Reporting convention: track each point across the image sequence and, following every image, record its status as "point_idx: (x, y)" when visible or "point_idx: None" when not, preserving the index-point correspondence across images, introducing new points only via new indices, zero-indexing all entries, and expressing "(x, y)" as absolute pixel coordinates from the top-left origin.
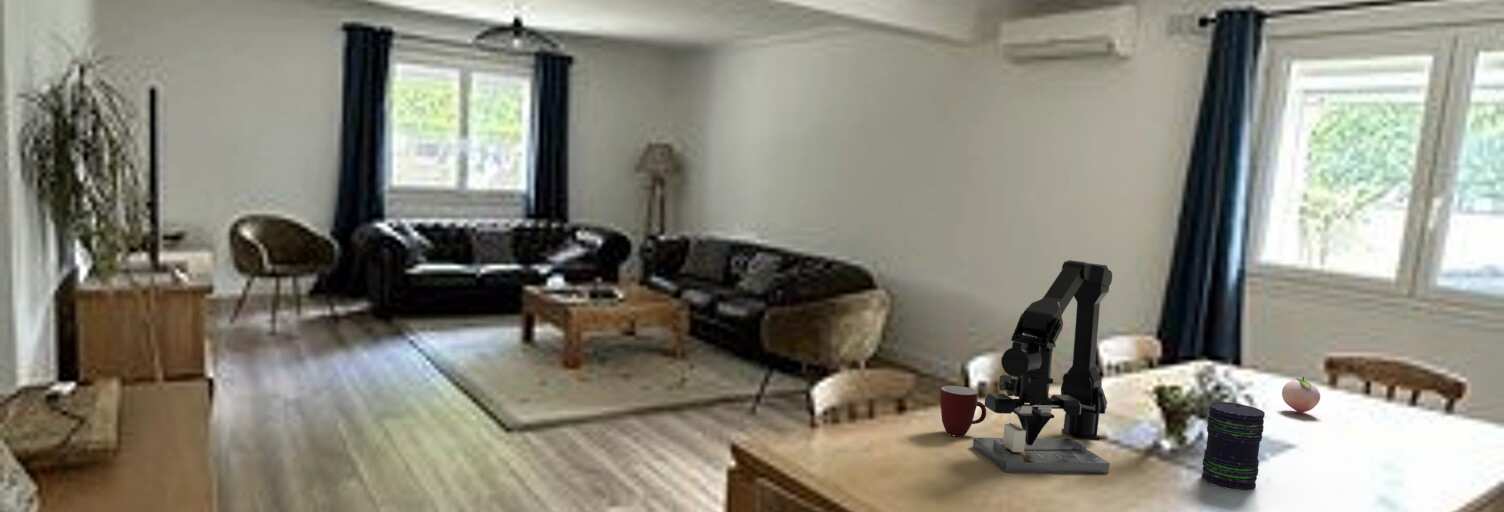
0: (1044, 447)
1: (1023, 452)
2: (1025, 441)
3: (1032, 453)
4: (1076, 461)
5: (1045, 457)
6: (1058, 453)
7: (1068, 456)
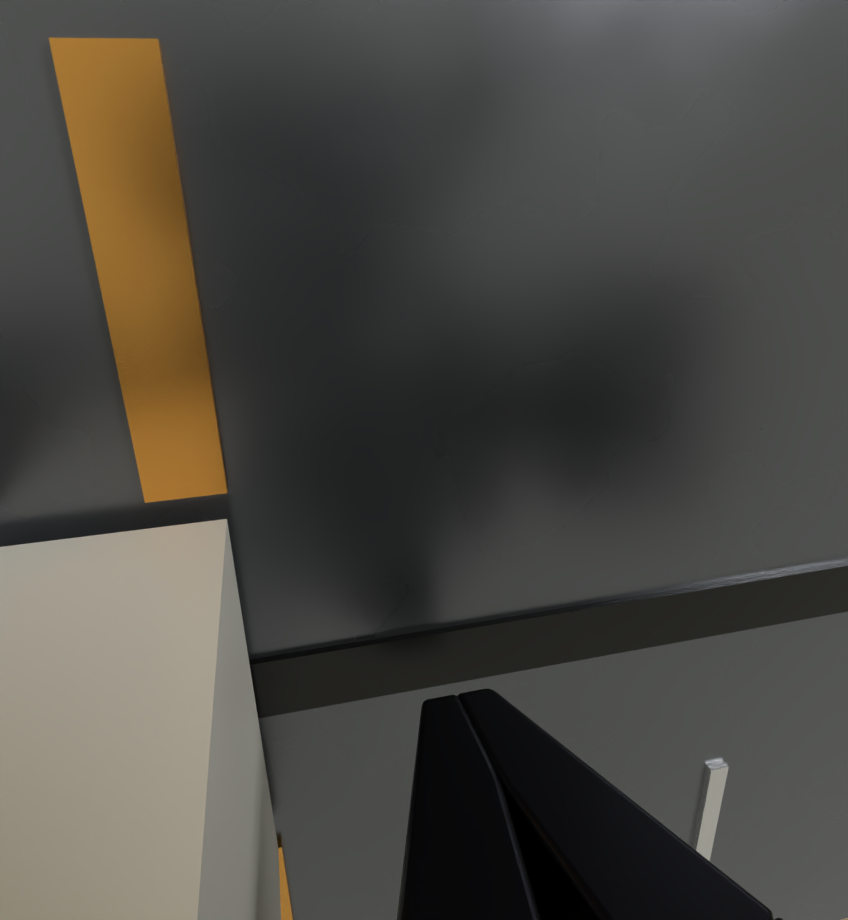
0: (762, 500)
1: (288, 793)
2: (627, 168)
3: None
4: (792, 907)
5: None
6: (781, 716)
7: (823, 787)
